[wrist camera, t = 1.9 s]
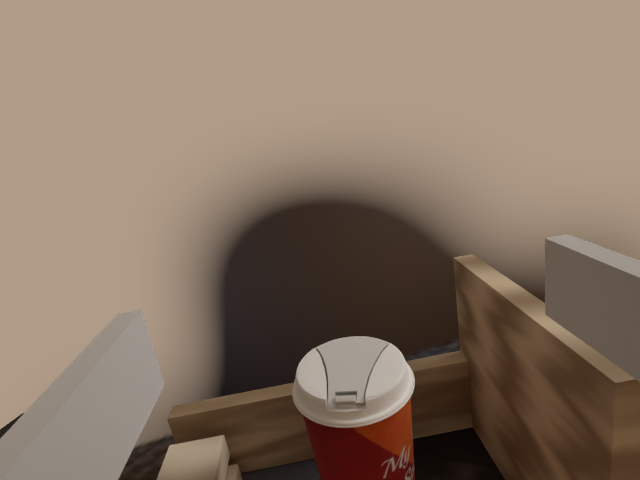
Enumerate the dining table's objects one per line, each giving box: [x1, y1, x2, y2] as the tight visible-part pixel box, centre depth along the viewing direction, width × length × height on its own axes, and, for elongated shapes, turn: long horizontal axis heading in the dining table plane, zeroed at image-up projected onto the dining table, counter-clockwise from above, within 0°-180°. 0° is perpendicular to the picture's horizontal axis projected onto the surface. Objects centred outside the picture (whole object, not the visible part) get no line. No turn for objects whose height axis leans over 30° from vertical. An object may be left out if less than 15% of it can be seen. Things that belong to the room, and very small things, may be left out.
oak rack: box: [168, 254, 640, 480], centre depth 27 cm, size 17×28×16 cm, turn 94°
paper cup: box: [292, 336, 415, 480], centre depth 27 cm, size 8×8×14 cm
